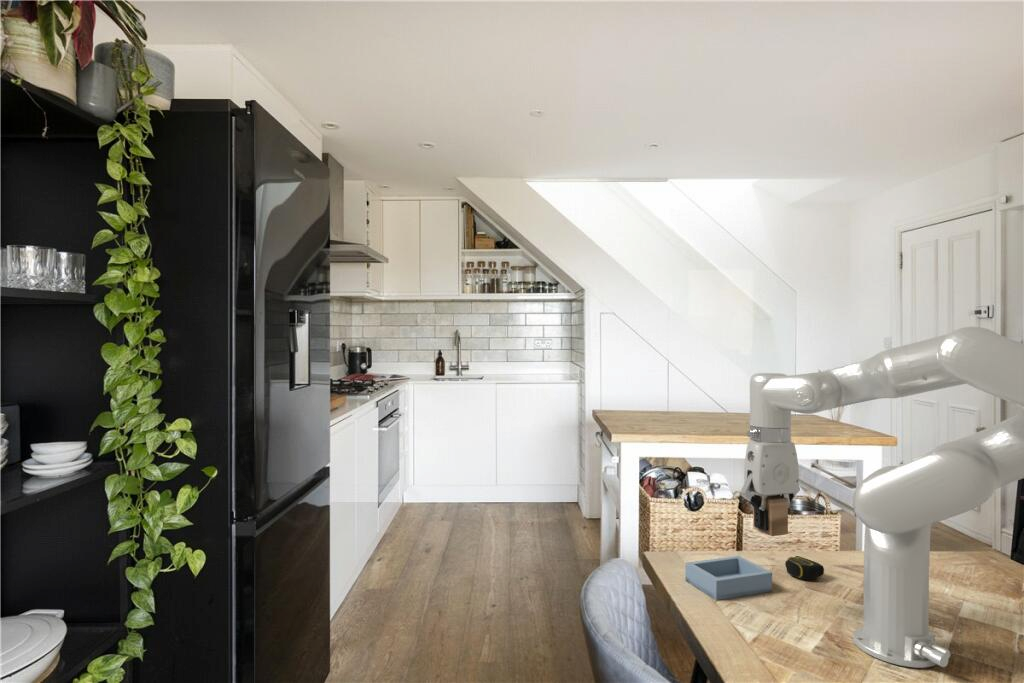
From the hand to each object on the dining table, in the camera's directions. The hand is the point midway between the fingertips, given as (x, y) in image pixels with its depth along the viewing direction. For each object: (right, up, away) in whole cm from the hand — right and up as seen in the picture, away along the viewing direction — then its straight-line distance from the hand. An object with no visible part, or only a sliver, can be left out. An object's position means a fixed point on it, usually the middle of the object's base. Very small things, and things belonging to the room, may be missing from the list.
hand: (770, 526), depth 117 cm
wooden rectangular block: (0, -1, 0) cm, 1 cm away
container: (-4, -17, +12) cm, 21 cm away
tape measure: (+15, -17, +18) cm, 29 cm away
